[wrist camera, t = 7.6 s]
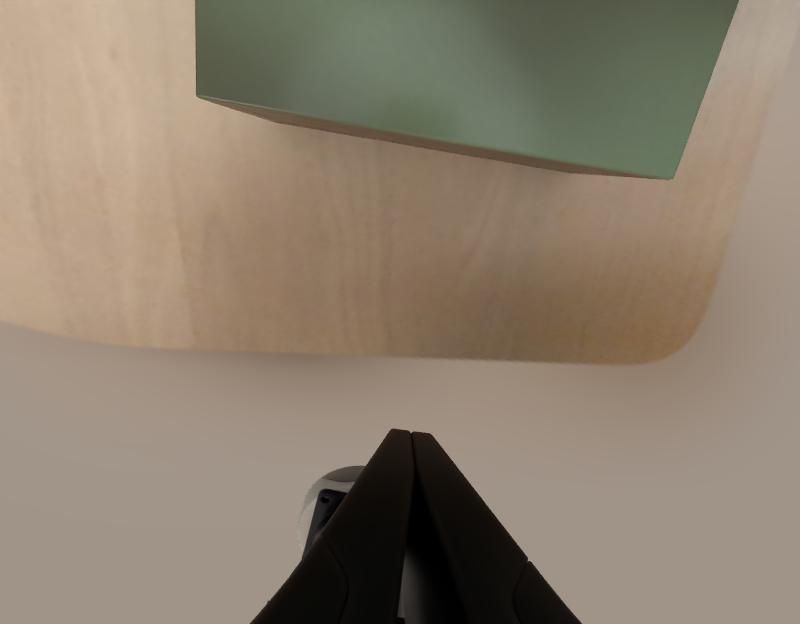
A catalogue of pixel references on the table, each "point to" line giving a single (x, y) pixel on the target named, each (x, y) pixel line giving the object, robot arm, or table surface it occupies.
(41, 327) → the table surface
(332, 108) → the lid
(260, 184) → the table surface
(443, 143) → the chest
